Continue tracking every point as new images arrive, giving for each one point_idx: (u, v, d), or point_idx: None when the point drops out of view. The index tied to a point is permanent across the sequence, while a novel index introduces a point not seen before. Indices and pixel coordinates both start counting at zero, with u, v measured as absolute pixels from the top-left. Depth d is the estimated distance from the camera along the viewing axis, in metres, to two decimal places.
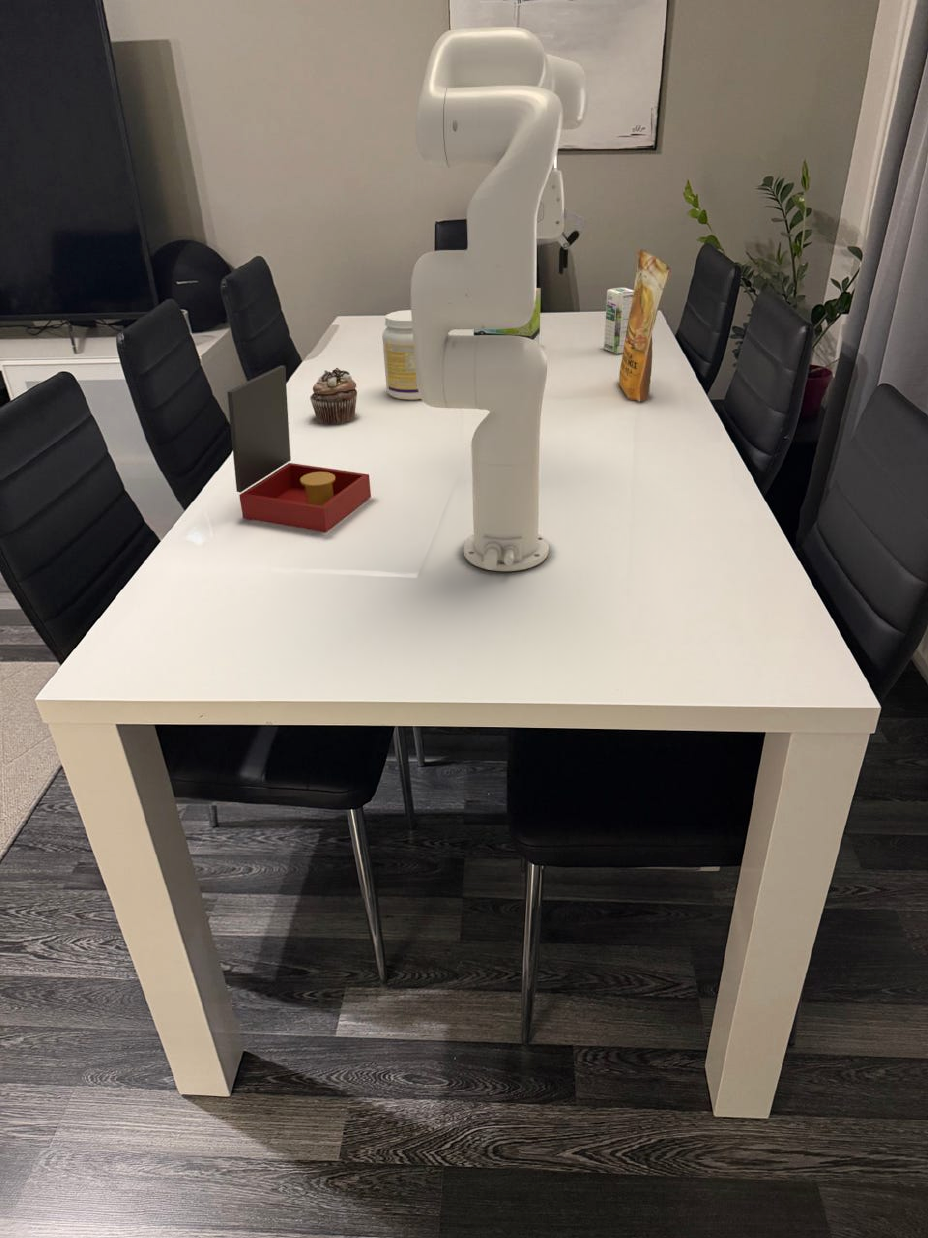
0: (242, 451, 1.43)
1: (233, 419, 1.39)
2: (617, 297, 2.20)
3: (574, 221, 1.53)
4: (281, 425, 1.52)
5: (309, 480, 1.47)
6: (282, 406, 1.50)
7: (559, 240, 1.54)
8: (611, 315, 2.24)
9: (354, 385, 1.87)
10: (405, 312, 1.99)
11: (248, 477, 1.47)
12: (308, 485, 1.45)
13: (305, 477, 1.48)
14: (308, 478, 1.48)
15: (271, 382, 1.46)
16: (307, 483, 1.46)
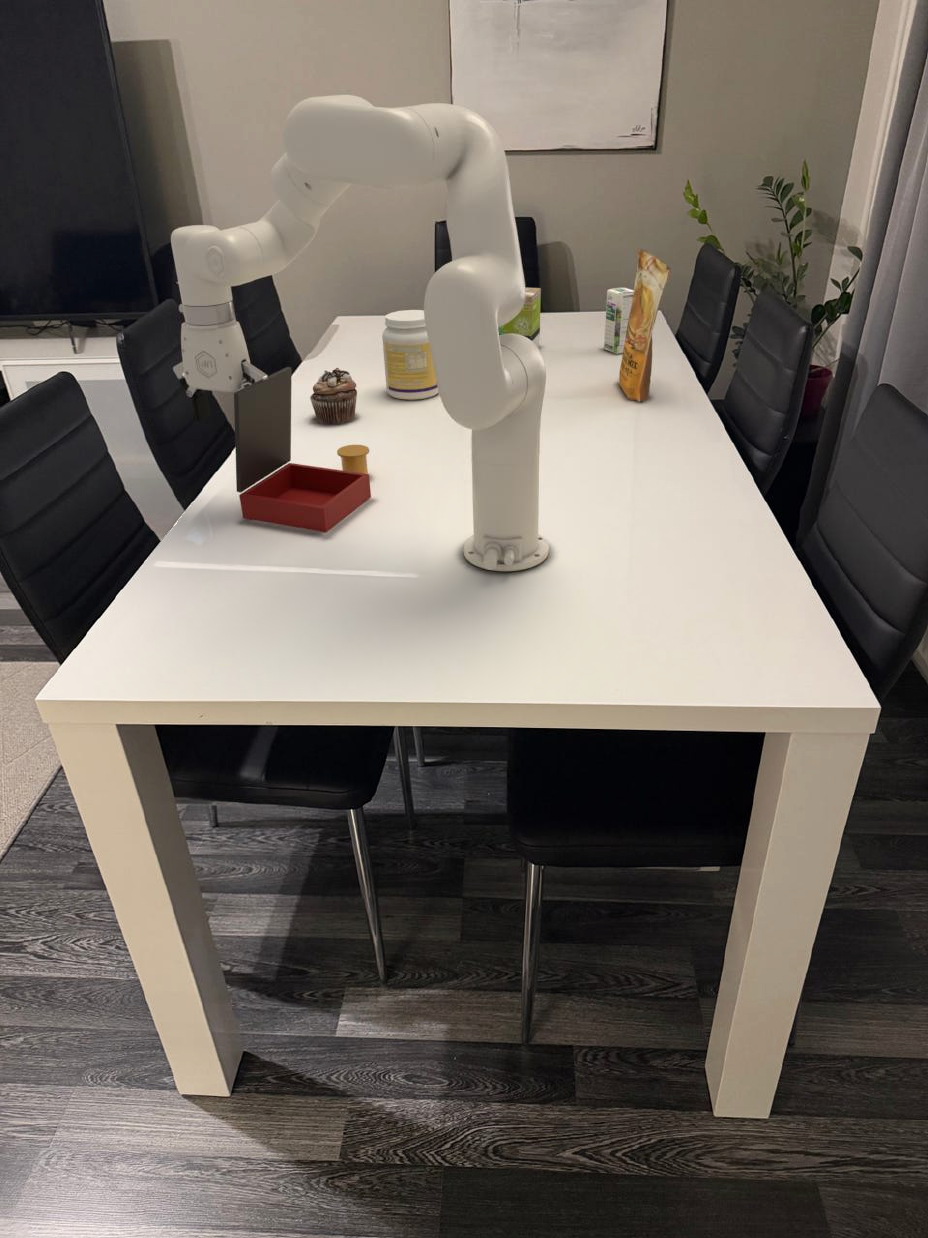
0: (245, 452, 1.43)
1: (237, 421, 1.39)
2: (617, 297, 2.20)
3: (253, 376, 1.42)
4: (284, 425, 1.52)
5: (345, 452, 1.59)
6: (286, 407, 1.50)
7: None
8: (611, 315, 2.24)
9: (354, 385, 1.87)
10: (405, 312, 1.99)
11: (249, 477, 1.47)
12: (345, 456, 1.58)
13: (341, 449, 1.61)
14: (344, 450, 1.60)
15: (277, 384, 1.45)
16: (344, 454, 1.58)
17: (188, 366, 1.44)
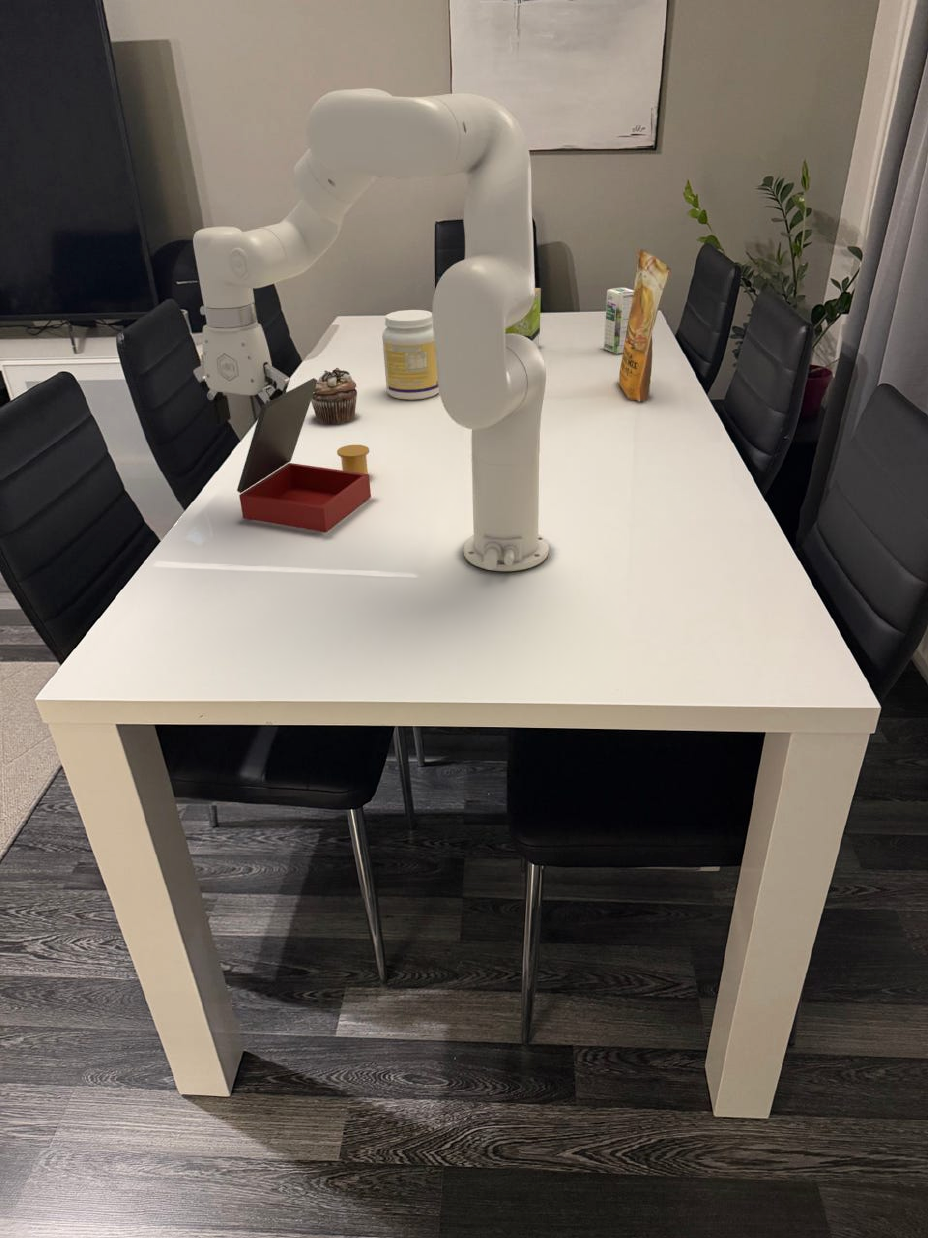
0: (255, 458, 1.43)
1: (258, 431, 1.38)
2: (617, 297, 2.20)
3: (275, 379, 1.41)
4: (295, 431, 1.51)
5: (345, 452, 1.59)
6: (302, 415, 1.50)
7: (261, 397, 1.42)
8: (611, 315, 2.24)
9: (354, 385, 1.87)
10: (405, 312, 1.99)
11: (251, 479, 1.47)
12: (345, 456, 1.58)
13: (341, 449, 1.61)
14: (344, 450, 1.60)
15: (301, 395, 1.45)
16: (344, 454, 1.58)
17: (209, 369, 1.42)
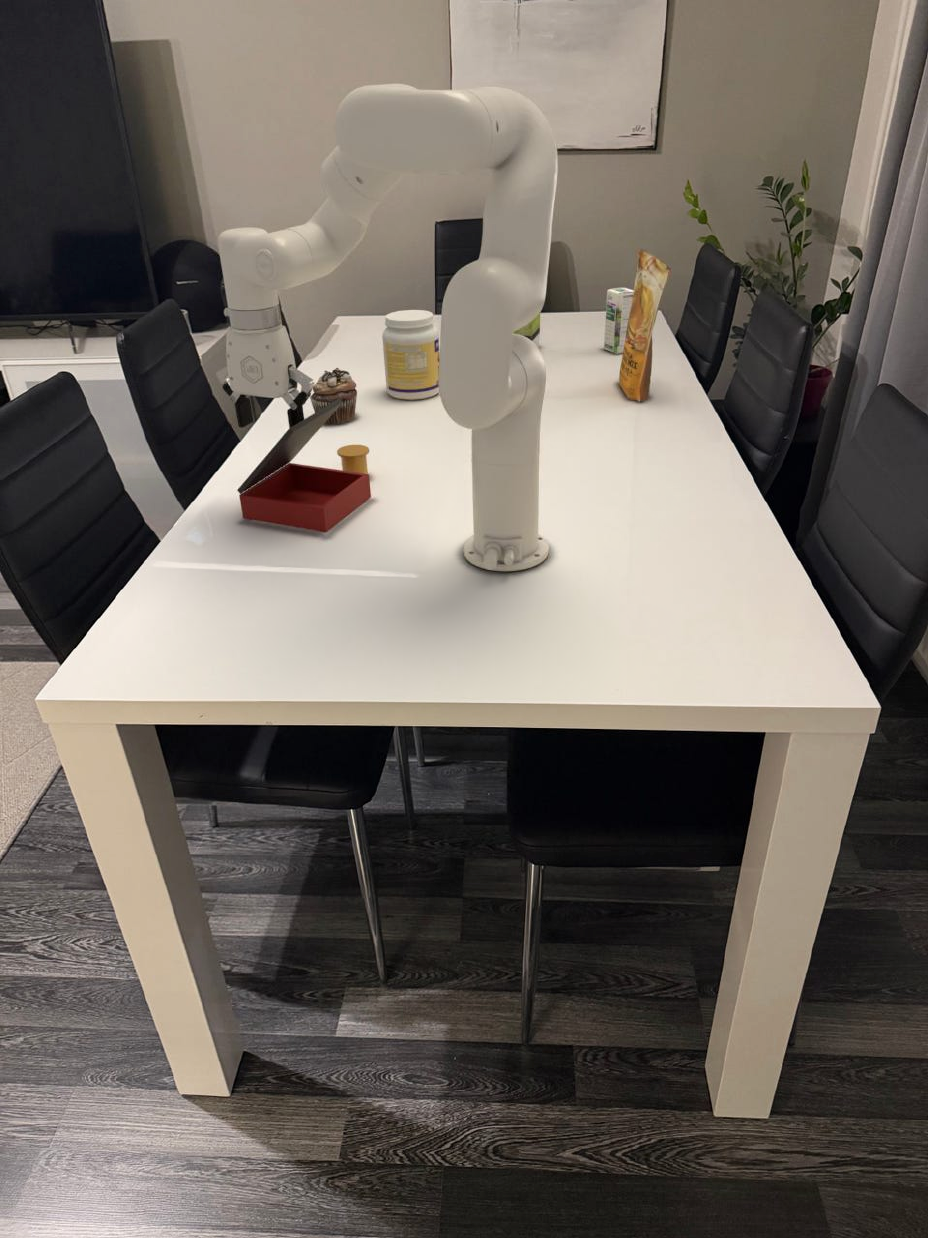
0: (265, 467, 1.43)
1: (277, 448, 1.38)
2: (617, 297, 2.20)
3: (299, 382, 1.39)
4: (305, 441, 1.51)
5: (345, 452, 1.59)
6: (316, 429, 1.50)
7: (286, 400, 1.41)
8: (611, 315, 2.24)
9: (354, 385, 1.87)
10: (405, 312, 1.99)
11: (254, 482, 1.47)
12: (345, 456, 1.58)
13: (341, 449, 1.61)
14: (344, 450, 1.60)
15: (324, 416, 1.45)
16: (344, 454, 1.58)
17: (233, 371, 1.41)
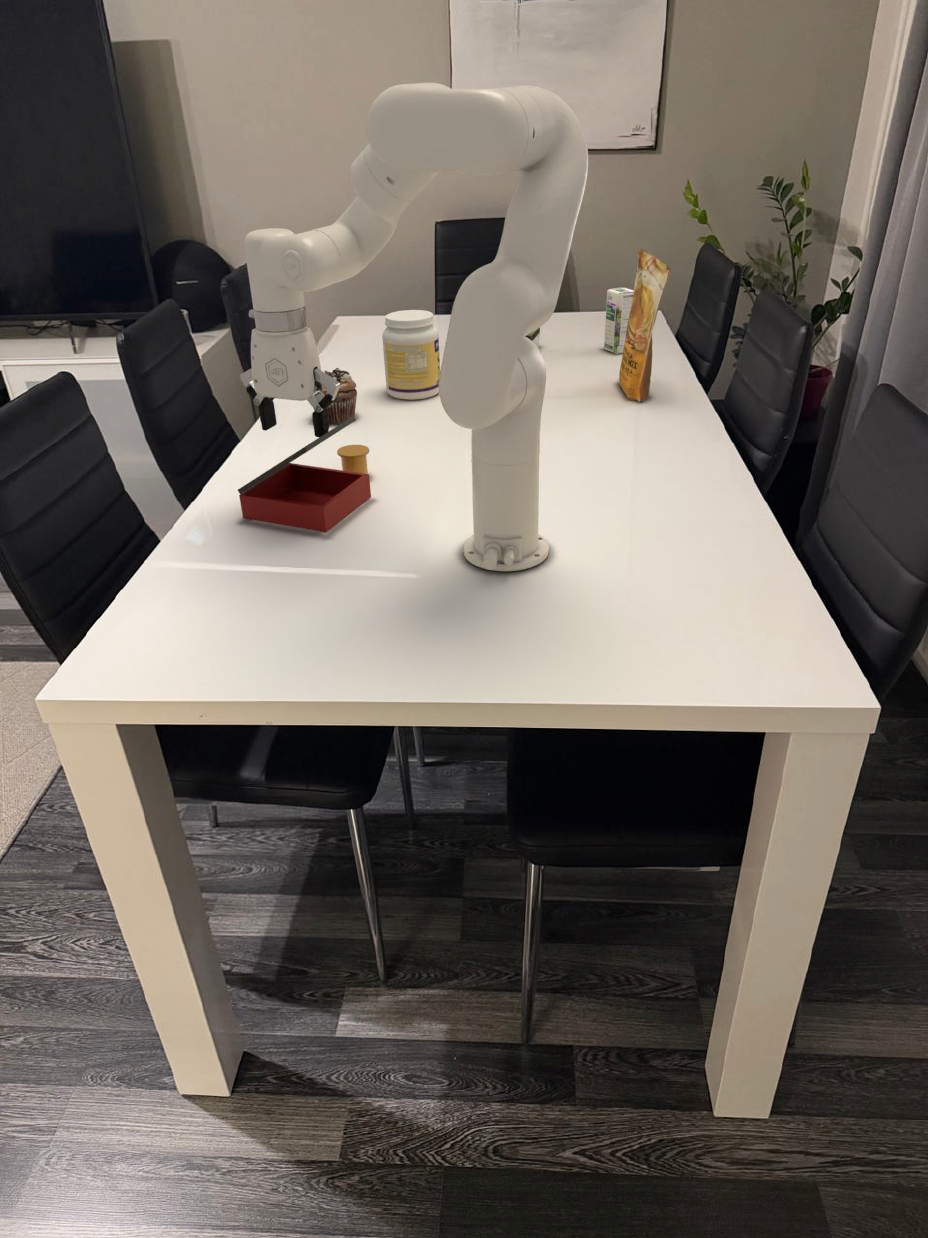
0: None
1: (288, 462, 1.39)
2: (617, 297, 2.20)
3: (325, 384, 1.38)
4: None
5: (345, 452, 1.59)
6: None
7: (311, 403, 1.39)
8: (611, 315, 2.24)
9: (354, 385, 1.87)
10: (405, 312, 1.99)
11: None
12: (345, 456, 1.58)
13: (341, 449, 1.61)
14: (344, 450, 1.60)
15: None
16: (344, 454, 1.58)
17: (257, 374, 1.39)
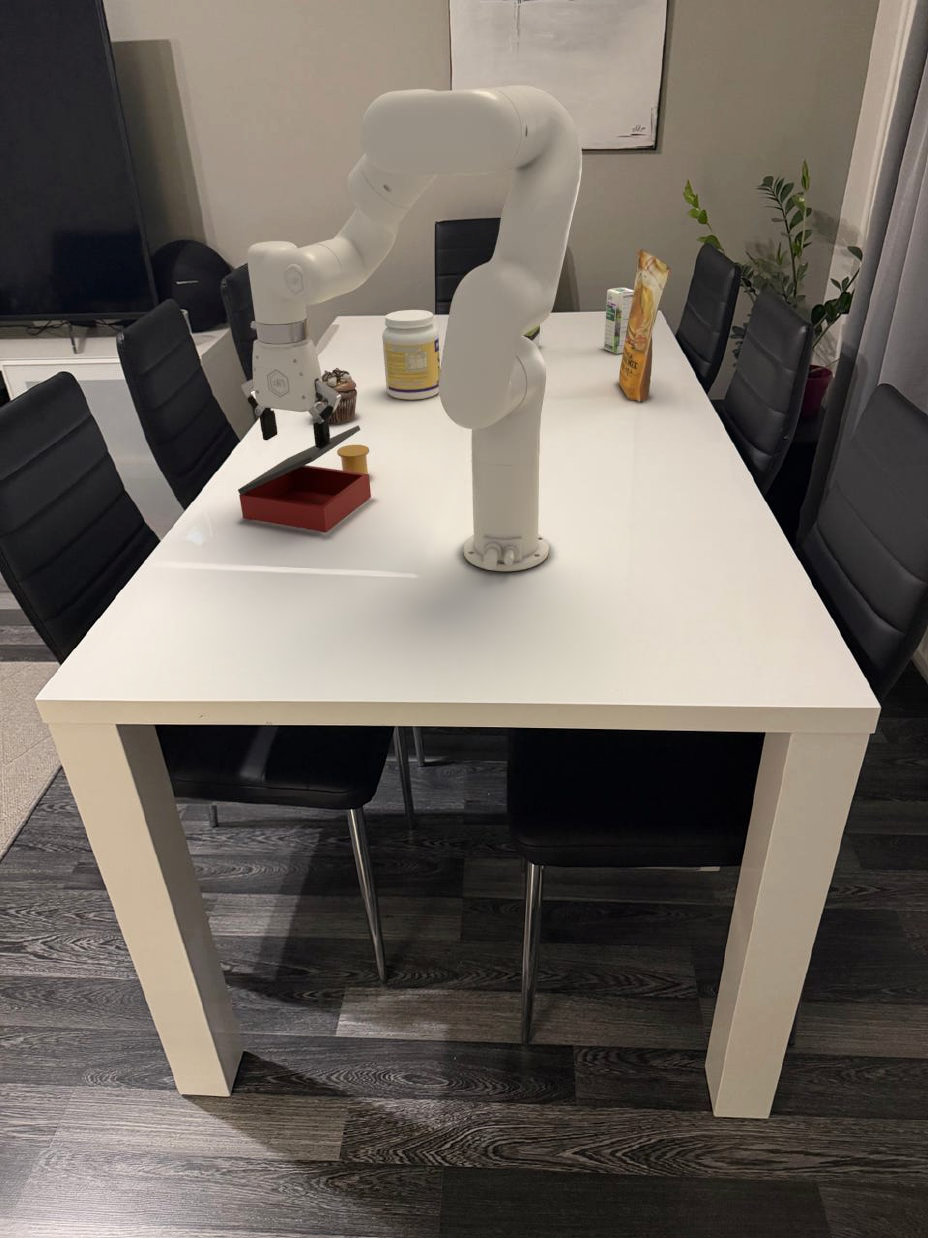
0: None
1: (292, 469, 1.39)
2: (617, 297, 2.20)
3: (326, 396, 1.38)
4: None
5: (345, 452, 1.59)
6: None
7: (312, 414, 1.40)
8: (611, 315, 2.24)
9: (354, 385, 1.87)
10: (405, 312, 1.99)
11: None
12: (345, 456, 1.58)
13: (341, 449, 1.61)
14: (344, 450, 1.60)
15: None
16: (344, 454, 1.58)
17: (259, 385, 1.40)
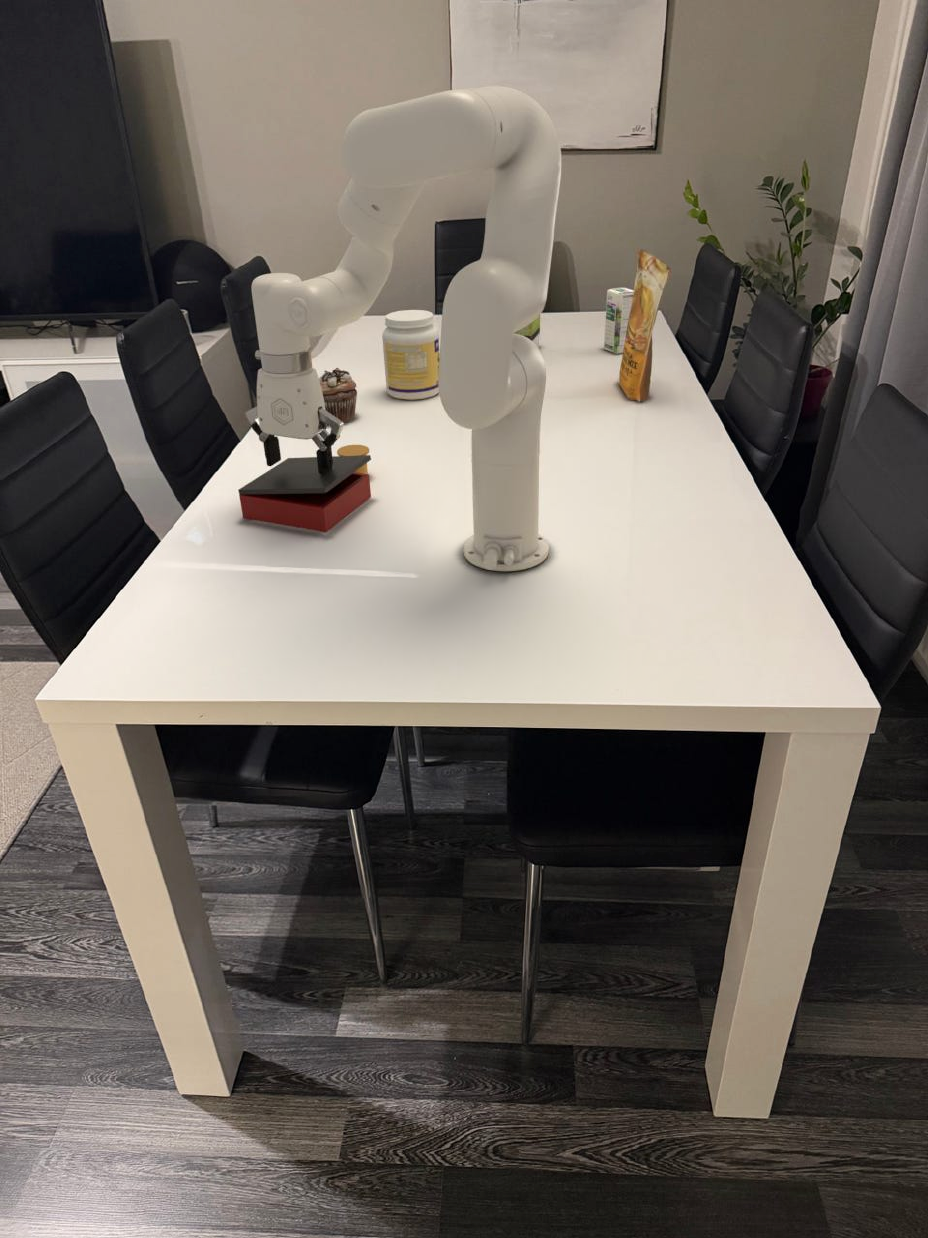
0: None
1: (301, 492, 1.41)
2: (617, 297, 2.20)
3: (329, 424, 1.41)
4: None
5: (345, 452, 1.59)
6: None
7: (315, 441, 1.42)
8: (611, 315, 2.24)
9: (354, 385, 1.87)
10: (405, 312, 1.99)
11: None
12: None
13: (341, 449, 1.61)
14: (344, 450, 1.60)
15: None
16: (344, 454, 1.58)
17: (263, 413, 1.42)
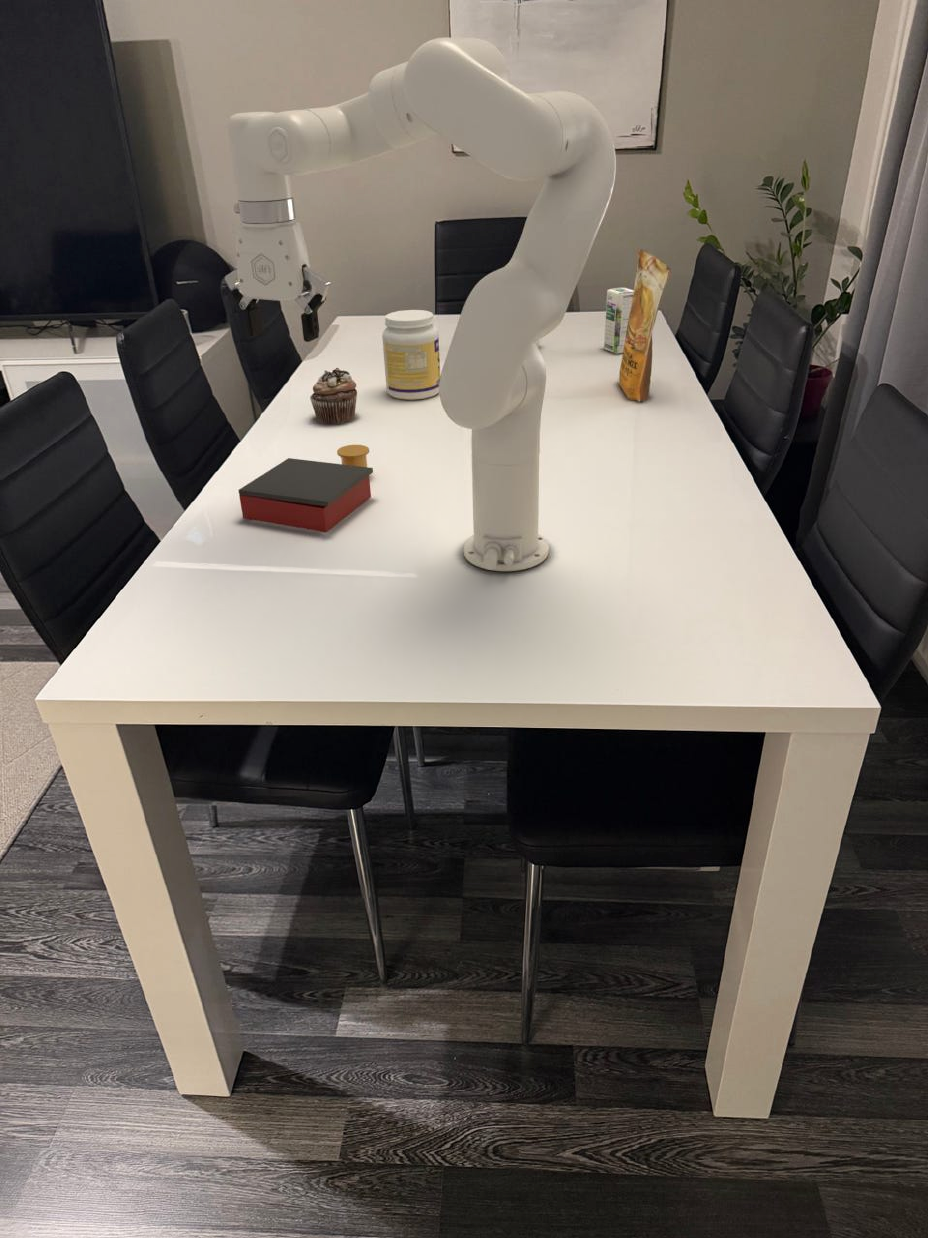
0: None
1: (303, 502, 1.42)
2: (617, 297, 2.20)
3: (314, 282, 1.30)
4: None
5: (345, 452, 1.59)
6: None
7: (299, 303, 1.32)
8: (611, 315, 2.24)
9: (354, 385, 1.87)
10: (405, 312, 1.99)
11: None
12: (345, 456, 1.58)
13: (341, 449, 1.61)
14: (344, 450, 1.60)
15: None
16: (344, 454, 1.58)
17: (243, 273, 1.31)
